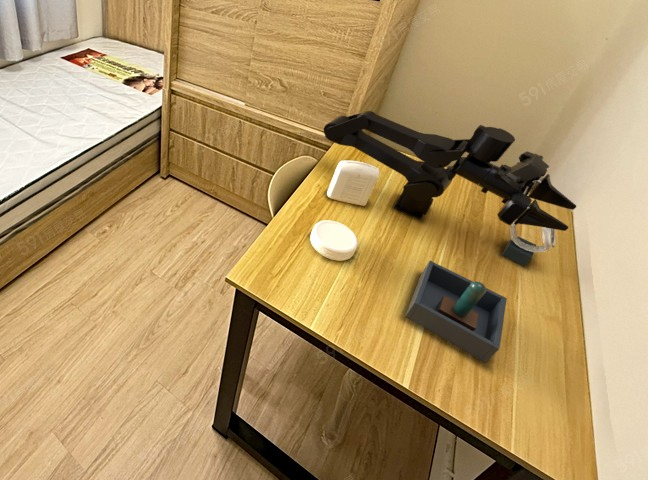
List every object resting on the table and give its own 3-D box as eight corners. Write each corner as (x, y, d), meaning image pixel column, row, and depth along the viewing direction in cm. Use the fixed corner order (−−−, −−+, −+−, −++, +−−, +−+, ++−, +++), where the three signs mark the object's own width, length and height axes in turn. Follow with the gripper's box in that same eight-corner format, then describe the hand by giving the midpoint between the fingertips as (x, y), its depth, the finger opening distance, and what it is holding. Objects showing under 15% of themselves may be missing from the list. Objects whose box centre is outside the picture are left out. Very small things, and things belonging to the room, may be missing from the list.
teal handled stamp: (432, 318, 81) (460, 281, 74) (436, 305, 83) (463, 268, 77) (467, 337, 78) (499, 301, 71) (471, 323, 80) (502, 286, 73)
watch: (535, 271, 91) (564, 239, 85) (493, 250, 96) (517, 218, 90) (539, 258, 95) (568, 226, 88) (498, 238, 99) (522, 206, 93)
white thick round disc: (305, 227, 101) (308, 217, 99) (345, 230, 101) (350, 220, 99) (315, 259, 93) (319, 249, 91) (359, 263, 92) (364, 253, 90)
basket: (404, 317, 81) (414, 302, 78) (420, 275, 90) (429, 260, 87) (484, 364, 74) (499, 349, 71) (493, 313, 83) (507, 298, 80)
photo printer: (365, 197, 111) (381, 162, 104) (367, 208, 107) (383, 172, 100) (326, 189, 113) (338, 154, 106) (326, 199, 110) (340, 164, 103)
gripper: (496, 165, 81) (594, 213, 73) (519, 133, 92) (607, 171, 83) (465, 202, 88) (551, 250, 79) (489, 168, 99) (568, 207, 90)
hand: (571, 218), depth 83 cm, fingers open, 9 cm apart
